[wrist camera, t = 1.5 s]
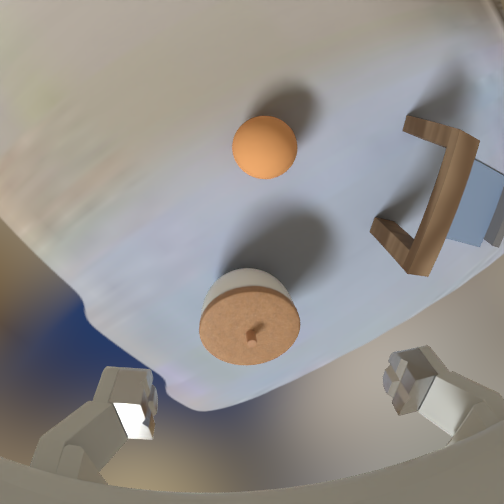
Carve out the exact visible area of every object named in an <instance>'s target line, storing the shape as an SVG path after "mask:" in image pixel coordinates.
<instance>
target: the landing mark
mask: <svg viewBox="0 0 504 504" xmlns="http://www.w3.org/2000/svg"><path fill="white" fill-rule="evenodd" d="M503 187H504V176H503V175H502V174H500V173H498V172H496V171H495V170H493V169H491V168H489V167H487V166H486V165H484V164H482V163H480V162H478V161H476V160H474V163H473V166H472V169H471V172H470V175H469V178H468V181H467V184H466V187H465V190H464V193H463V195H462V198H461V201H460V204H459V206H458V209H457V212H456V214H455V217H454V219H453V222H452V224H451V227H450V229H449V232H448V234H447V236H446V238H447V239H451V240H455V241H458V242H462V243H466V244H470V245H474V246H477V247H480V246H481V243H482V241H483V239H484V237H485V234H486V232H487V229H488V227H489V225H490V222H491V220H492V217H493V215H494V212H495V209H496V207H497V204H498V201H499V199H500V196H501V193H502V190H503Z"/></svg>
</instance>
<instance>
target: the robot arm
mask: <svg viewBox="0 0 504 504" xmlns="http://www.w3.org/2000/svg"><path fill="white" fill-rule="evenodd" d="M389 363H390V366H389V367H388V368H387V369H386V370H385V372H384V375H383V386H384V389H385V391H386V393H387V394H388V395H389V396H391V397H393V400H392V404H393V406H394V408H395V410H396V412H397V413H398V415H404V414H408V413H412V412H416V411H418V412H419V413H420V414H421V415H423V416H424V417H425V418H427V419H428V420H430V421H431V422H432V423H434V424H435V425H437V426H438V427H439V428H441V429H442V430H444V431H445V432H446V433H448V434H449V435H451V436H452V438H451V440H450V441H449V442H448V444H447V445H446V447H444V448H442V449H439V450H437V451H434V452H432V453H429V454H426V455H423V456H421V457H418V458H415V459H412V460H409V461H406V462H403V463H399V464H397V465H393V466H389V467H386V468H383V469H379V470H375V471H372V472H368V473H364V474H360V475H356V476H351V477H347V478H343V479H338V480H332V481H328V482H322V483H316V484H310V485H304V486H298V487H290V488H282V489H273V490H262V491H249V492H231V493H186V492H166V491H152V490H142V489H132V488H125V487H118V486H111V485H108V483H107V482H106V481H105V479H104V478H103V477H102V475H101V474H100V473H99V472H100V471H101V469H102V468H103V467H104V466H105V465H106V464H107V463H108V462H109V461H110V459H111V458H112V457H113V456H114V455H115V454H116V452H118V451H119V449H120V448H121V447H122V446H123V445H124V444H125V443H126V442H127V440H128V438H133V439H153V436H154V429H155V422H154V419H153V416H154V415H156V414H157V406H158V404H157V403H158V398H157V391H156V387H155V386H154V385H152V380H153V376H152V372H151V370H150V369H137V368H124V367H121V368H119V367H109V366H107V367H106V368H105V369H104V371H103V373H102V376H101V379H100V381H99V384H98V387H97V390H96V393H95V396H94V398H93V401H88V402H87V403H85V404H84V405H83V406H81V407H80V408H79V409H77V410H76V411H75V412H73V413H72V414H71V415H69V416H68V417H67V418H65V419H64V420H63V421H61V422H60V423H59V424H57V425H56V426H55V427H53V428H52V429H51V430H49V431H48V432H47V433H45V434H44V435H43V436H41V437H40V440H39V442H38V445H37V447H36V450H35V453H34V456H33V458H32V461H31V464H30V467H29V466H26V465H23V464H20V463H17V462H14V461H11V460H8V459H5V458H3V457H0V504H504V399H503V398H502V396H501V395H500V394H499V393H498V392H496V391H494V390H491V389H489V388H487V387H485V386H483V385H481V384H479V383H477V382H474V381H472V380H470V379H468V378H466V377H464V376H462V375H460V374H458V373H456V372H453V371H452V372H449V370H448V369H447V368H446V367H445V365H444V364H443V362H442V361H441V360H440V359H439V357H438V356H437V355H436V354H435V352H434V351H433V350H432V349H431V347H429V346H422V347H417V348H413V349H408V350H403V351H397V352H393V353H392V354H391V355H390V358H389Z"/></svg>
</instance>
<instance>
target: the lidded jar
mask: <svg viewBox="0 0 504 504" xmlns="http://www.w3.org/2000/svg"><path fill="white" fill-rule="evenodd" d="M299 330H300V318H299V315H298V312H297V309H296V307H295V306H294V304H293V301H292V299H291V296H290V295H289V293H288V291H287V290H286V288H285V287H284V286H283V284H282V283H281V282H280V281H279V280H278V279H276V278H275V277H274V276H272V275H271V274H269V273H267V272H265V271H262V270H259V269H253V268H242V269H237V270H233V271H231V272H228V273H226V274H224V275H223V276H221V277H220V278H219V279H217V280H216V281H215V282H214V284H213V285H212V286H211V287H210V289H209V290H208V292H207V295H206V297H205V299H204V303H203V307H202V311H201V319H200V327H199V333H200V338H201V341H202V343H203V345H204V346H205V348H206V349H207V350H208V351H209V352H210V353H211V354H212V355H214V356H215V357H216V358H218V359H220V360H222V361H225V362H227V363H231V364H236V365H255V364H261V363H265V362H268V361H270V360H273V359H275V358H277V357H278V356H280V355H282V354H283V353H284V352H286V351H287V350H288V349H289V348H290V347H291V346H292V344H293V343H294V342H295V340H296V338H297V336H298V334H299Z"/></svg>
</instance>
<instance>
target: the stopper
mask: <svg viewBox="0 0 504 504" xmlns="http://www.w3.org/2000/svg"><path fill="white" fill-rule="evenodd" d="M503 237H504V187H503V190H502V193H501V196H500V199H499V201H498V204H497V207H496V209H495V212H494V215H493V217H492V220H491V222H490V225H489V227H488V229H487V232H486V234H485V237H484V240H486V241H487V242H488V243H490V244H491V245H492V246H495V247H498V248H499V246H500V244H501V241H502V239H503Z"/></svg>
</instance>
